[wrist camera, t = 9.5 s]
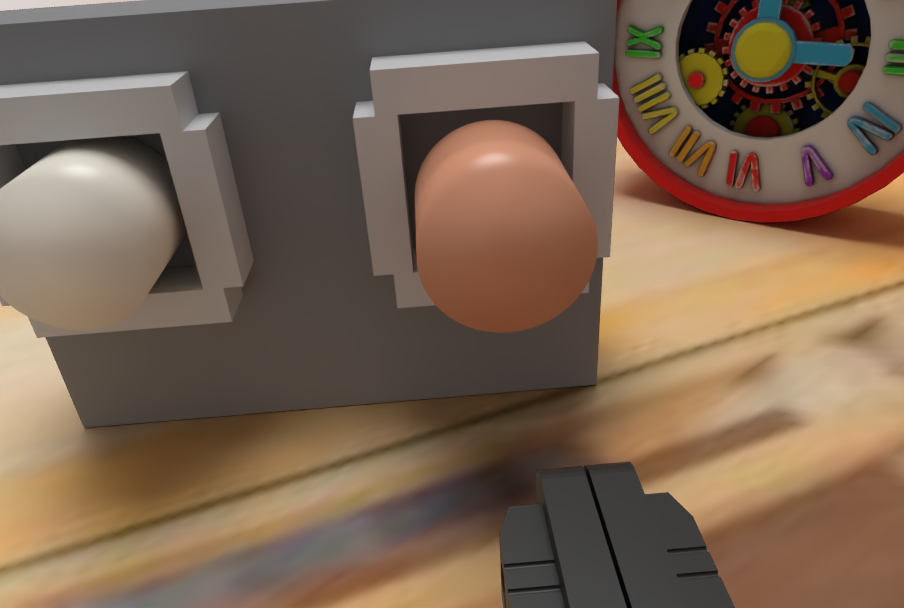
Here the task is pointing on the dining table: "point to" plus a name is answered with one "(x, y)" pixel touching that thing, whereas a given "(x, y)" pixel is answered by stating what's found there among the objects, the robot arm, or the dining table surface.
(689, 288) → the dining table surface
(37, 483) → the dining table surface
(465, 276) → the terracotta button
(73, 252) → the cream button
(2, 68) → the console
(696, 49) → the toy clock
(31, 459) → the dining table surface
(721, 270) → the dining table surface
